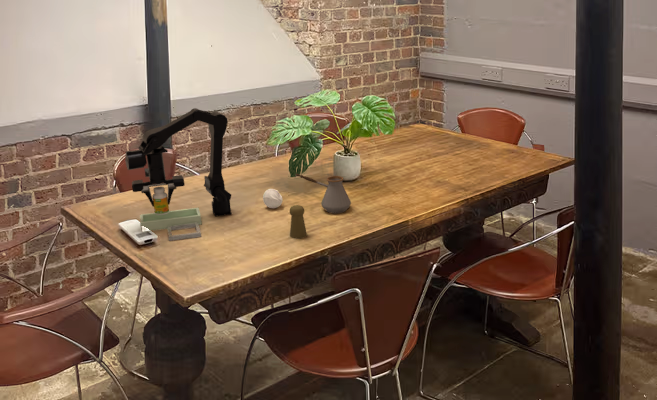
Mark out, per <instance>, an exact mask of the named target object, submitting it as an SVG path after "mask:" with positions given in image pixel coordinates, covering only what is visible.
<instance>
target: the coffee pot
mask: <svg viewBox="0 0 657 400" xmlns="http://www.w3.org/2000/svg"><path fill="white" fill-rule="evenodd" d="M294 176H295V177H294V178H296V177H299V178H301V179H304V180H306V181H308V182H311V183H313V184H314V183H315V184H318V185H319V186H323V187H325V188H326V190H325V193H324V195H323V198H322V201H321V203H320V204H321V206H322V208H323V209H324V210H325V211H326V212H327V213H329V214H342V213H344V212H346V211H347V210H348V209H349V207H350V206H351V204H352V201H351V199H350V197H349V195H348V193H347V191H346V189H345V186H344V185H343V181H344V177H343V176H339V175H332V176H328V177H326V181H327V182H328V184H326V183H323V182H320V181H318V180H316V179H314V178H311V177H308V176H304V175H303V174H300V173H295V175H294Z"/></svg>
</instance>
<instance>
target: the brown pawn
mask: <svg viewBox="0 0 657 400" xmlns="http://www.w3.org/2000/svg"><path fill="white" fill-rule="evenodd" d="M304 214H305V208H304V206H303V205H299V204H298V205H297V204H296V205H292V206H290V208H289V215H290V216H291V217H290V218H291V219H290V231H289V237H290V238H291V239H304V238H306V237H307V236H308V234H307V229H306V223H305V217H304Z"/></svg>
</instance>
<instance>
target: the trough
mask: <svg viewBox="0 0 657 400" xmlns="http://www.w3.org/2000/svg"><path fill="white" fill-rule="evenodd" d="M139 220H140V221H139V223H140V227H141V226H144V227H146V228H148V229H149V230H153V232H155V231H160V230H161V229H162V230H167V226H171V225H179V224H187V223H195V222H198V224H199V226H201V225H202V215H201V212H200V209H199V207H193V208H192V207H191V208H185V209H183V208H182V209H175V210H169V213H167V214H164V215H156V214H155V212H151V213H142V214H139ZM162 230H161V231H162Z"/></svg>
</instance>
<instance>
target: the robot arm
mask: <svg viewBox="0 0 657 400" xmlns="http://www.w3.org/2000/svg"><path fill="white" fill-rule="evenodd" d="M196 122H202V123H205V124H207V125H208V126H207V127H208V131H209V133H210V153H209V154H210V155H209V158H210V159H209V162H210V163H209V174H208V176H207V175H204V176H203V179H204V184H203V187H204V188H205V190H206V192H207V193H209V194H210V195H211V196H212V201H211V209H212V214H213V215H214V216H215V217H219V216H229V215H233V213H232V210H231V198H232V194H231V193H230V192H228V190H226V187H225V186H226V185H225V181H224V177H223V174H222V171H223V147H224V145H223V144H224V141H223V140H224V136H225V134H226V131H227V127H228V122H229V121H228V118H227V116H226V115H225V114H222V113H221V112H219V111H211V112H209V111H206V110H202V109H199V108H196V107H194V108H192V109H191V110H190V111H188V112H186V113H184V114H182V115H180V116H179V117H177V118H176V119H174V120H172V121H170V122H168V123H167V124H165V125H162V126H159V127H155V128H151V129H149V130H147V131H145V132H144V133H143V136H142V140H141V143H140V145H139V146H138V149H134V150H126V151H125V159H124V162H125V166H126V168H127V171H130V170H131V171H132V170H136V169H142V168H144V176H145V177H146V178H149V181H145V182H143V181H144V180H143V179H137V180H132V182H131V189H132V192H133V193H137V192H141V194H144V195H145V196H146V197H147V199H148V200H149V203H150V204H151V206H152V207H153V208H154V204H153V195H152V193H151V189H150V188H151V187H162V186H166V185H167V197H168V205H169V206H170V204H171V200H172V195H173V193H174V190H177V188H180V187H184V186H185V178H184V176H183V175H182V174H180V175H179V174H178V175H172V178H169V179H166V171H165V170H166V169H165V163H164V153H168V152H169V150H168V149H167V148H166V147H164V144H166V143H167V141H168V140H169V139H170V138H171V137H172V136H174V135H176V134H177V133H179V132H181V131H183V130H184V129H185V128H187V127H189V126H191V125H193V124H194V123H196ZM146 165H147V168H145V167H146Z"/></svg>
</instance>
